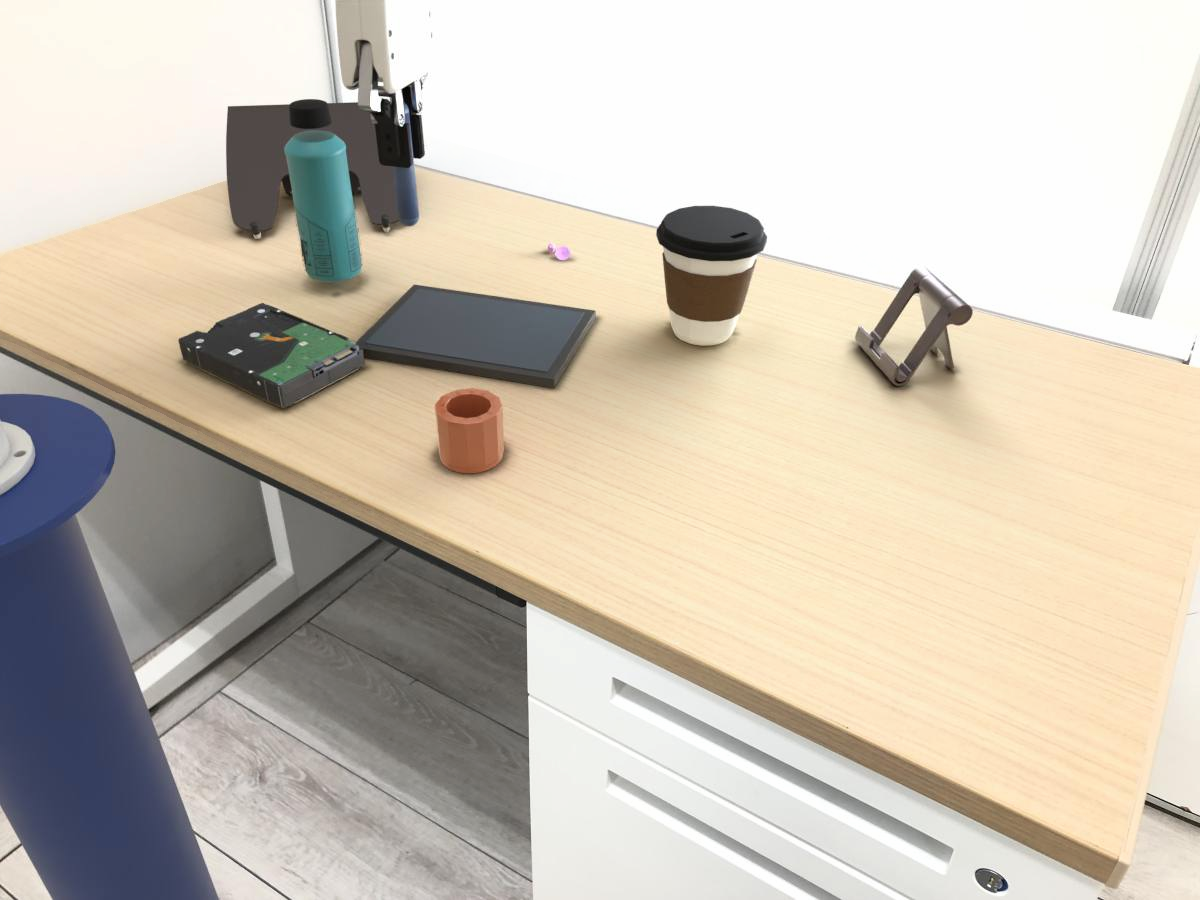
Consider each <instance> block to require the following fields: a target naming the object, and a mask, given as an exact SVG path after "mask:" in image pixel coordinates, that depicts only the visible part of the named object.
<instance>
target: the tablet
mask: <svg viewBox="0 0 1200 900" xmlns="http://www.w3.org/2000/svg"><path fill="white" fill-rule="evenodd" d="M596 318H597V311H596V310H594V309H588V308H580V307H574V306H567V305H559V304H552V303H545V302H540V301H539V302H538V301H534V300H533V301H532V300H524V299H519V298H511V297H504V296H497V295H492V294H491V295H490V294H483V293H477V292H471V291H462V290H457V289H456V290H455V289H449V288H442V287H435V286H428V285H421V284H413V285H412V286H411V287H410V288H409V289H408V290H407V291H405V293H404V294H403V295H402V296H401V297H399V299H398V300H397V301H396V302H394V303H393V305H392V306H391V307H390V308H389V309H388V310H387V311H386V312H385V313H383V315H381V317H380V318H378V320H376V321H375V322H374V324H373V325H371V327H370V328H369V329H367V331H365V332H364V334H363V335H361V336H360V338H359V339H358V340H357V341H355V342H356V345H358V346H359V348H361V349H363V355H364V358H367V359H374V360H378V361H385V362H392V363H396V364H402V365H403V364H404V365H410V366H415V367H422V368H427V369H428V368H429V369H433V370H434V369H435V370H440V371H445V372H453V373H458V374H459V373H460V374H465V375H472V376H478V377H482V378H483V377H485V378H490V379H495V380H502V381H509V382H515V383H521V384H527V385H531V386H532V385H534V386H539V387H545V388H552V389H555V387H556V386H557V384H558V383H559V381H560V379H561V378H562V376H563V374H564V372H565V371H566V369H567V368H568V366H569V364H570V363H571V361H572V359H573V357H574V356H575V354H576V353H577V351H578V349H579V347H580V345H581V344H582V342H583V341H584V339H585V337H586V336H587V334H588V332H589V331H590V329H591V327H592V325H593V324H594V322H595V321H596Z"/></svg>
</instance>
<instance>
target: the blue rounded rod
mask: <svg viewBox="0 0 1200 900" xmlns="http://www.w3.org/2000/svg"><path fill="white" fill-rule="evenodd" d="M391 104H392V102H391ZM403 107H404V118H405V120H404V123H409V128H410V138H411V148H412V158H413V165H412V166H411V167H409V168H402V167H393V172H394V181H395V190H396V199H397V208H398V217H399V220H400V221H399V222H400V223H401V224H402V225H403V226H406V227H413V226H415V225H417V223H418V222H419V220H420V211H419V209H420V208H419V201H418V199H419V198H418V191H417V190H418V188H417V177H416V170H415V169H416V167H415V160H414V159H415V158H414V157H413V147H412V136H411V126H410V116H409V109H408V106H407V105H406V104H405V103H404V102H403Z"/></svg>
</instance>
